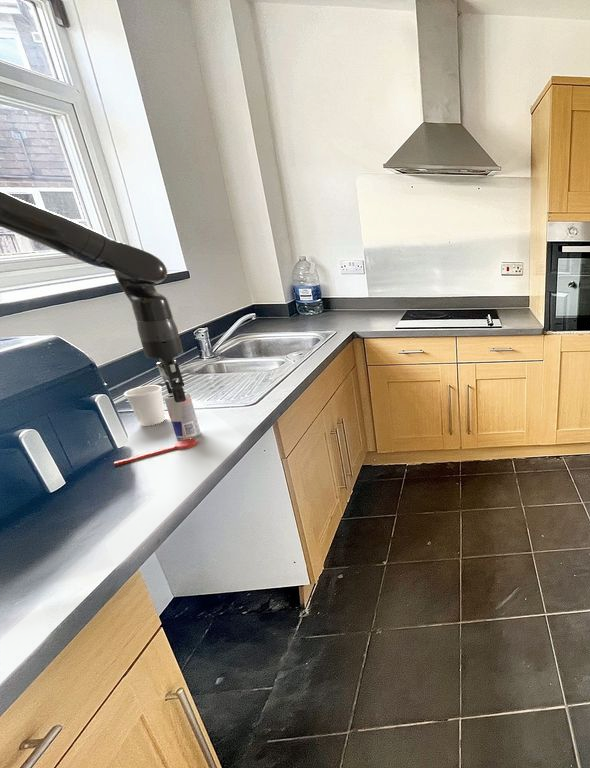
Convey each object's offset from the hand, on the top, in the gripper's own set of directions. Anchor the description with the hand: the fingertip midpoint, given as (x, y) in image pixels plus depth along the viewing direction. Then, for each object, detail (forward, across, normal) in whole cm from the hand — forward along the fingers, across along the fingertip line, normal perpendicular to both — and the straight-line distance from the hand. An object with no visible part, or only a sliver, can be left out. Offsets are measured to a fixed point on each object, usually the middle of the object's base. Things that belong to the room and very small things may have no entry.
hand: (177, 397), depth 109 cm
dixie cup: (+12, -18, -5) cm, 22 cm away
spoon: (+11, +6, -7) cm, 15 cm away
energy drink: (+12, 0, 0) cm, 12 cm away
